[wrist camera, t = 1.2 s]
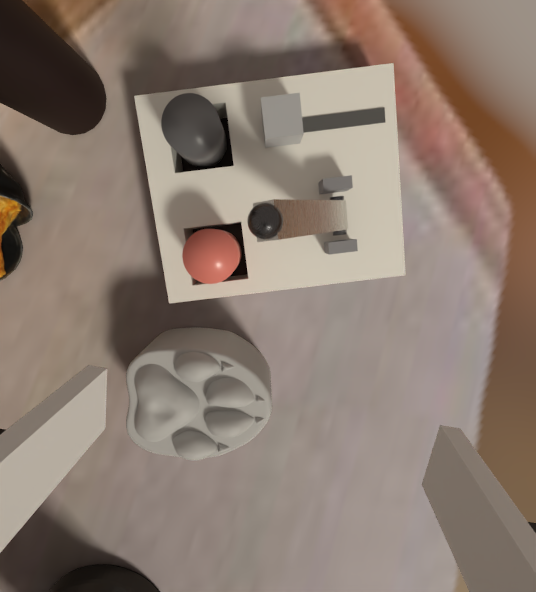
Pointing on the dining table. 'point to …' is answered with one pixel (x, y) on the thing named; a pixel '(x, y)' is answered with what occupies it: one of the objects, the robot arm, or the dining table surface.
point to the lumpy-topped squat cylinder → (197, 393)
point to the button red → (211, 255)
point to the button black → (194, 130)
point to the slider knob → (282, 120)
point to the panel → (285, 182)
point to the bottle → (46, 74)
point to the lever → (297, 218)
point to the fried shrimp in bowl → (11, 222)
